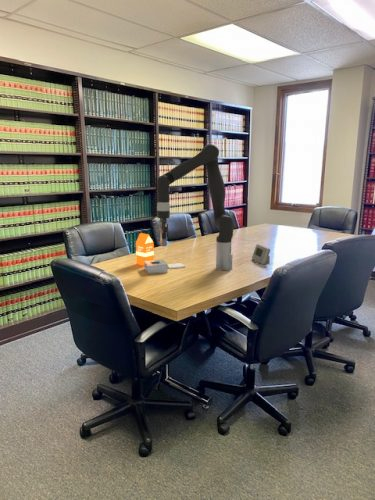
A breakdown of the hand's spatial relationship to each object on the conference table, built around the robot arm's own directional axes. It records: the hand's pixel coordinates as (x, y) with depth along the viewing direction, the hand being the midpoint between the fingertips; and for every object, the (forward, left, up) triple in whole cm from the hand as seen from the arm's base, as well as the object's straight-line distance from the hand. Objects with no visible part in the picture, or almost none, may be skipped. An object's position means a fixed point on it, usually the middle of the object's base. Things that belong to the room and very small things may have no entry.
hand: (163, 238), depth 221 cm
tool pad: (-9, -7, -20) cm, 23 cm away
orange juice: (+8, -20, -20) cm, 29 cm away
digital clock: (-66, 0, -20) cm, 69 cm away
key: (0, 0, -5) cm, 5 cm away
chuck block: (+5, -2, -20) cm, 21 cm away
